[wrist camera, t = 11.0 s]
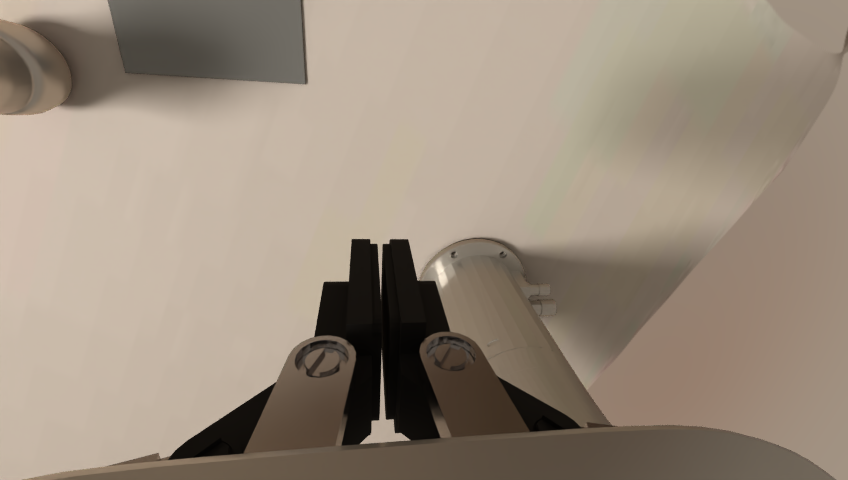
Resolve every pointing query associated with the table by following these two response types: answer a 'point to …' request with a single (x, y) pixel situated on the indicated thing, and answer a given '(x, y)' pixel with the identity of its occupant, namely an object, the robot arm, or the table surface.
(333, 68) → the table surface
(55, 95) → the plastic bottle
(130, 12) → the mat
